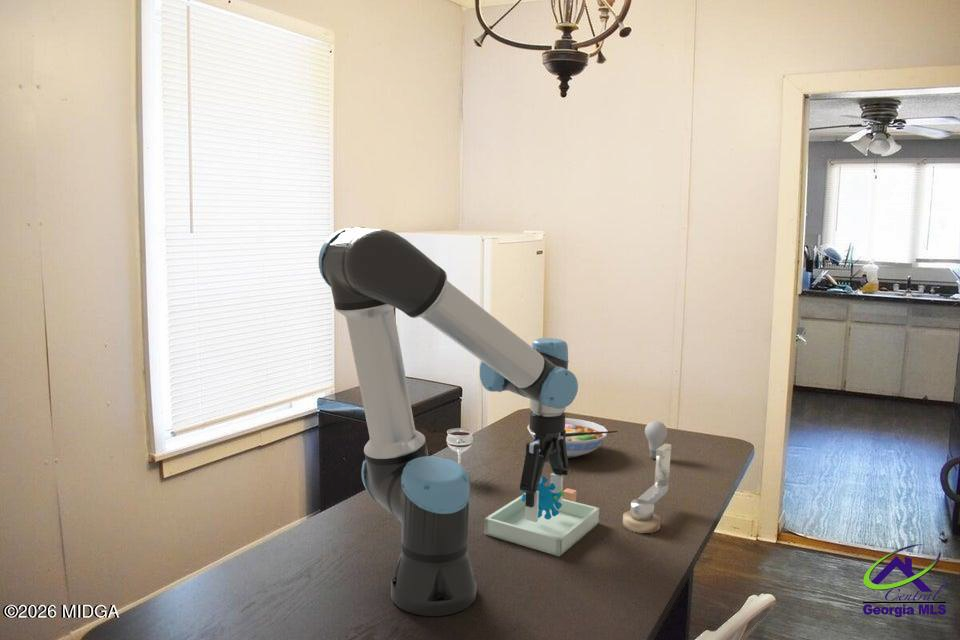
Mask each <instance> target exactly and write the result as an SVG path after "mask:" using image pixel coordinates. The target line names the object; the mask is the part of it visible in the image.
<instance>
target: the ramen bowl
mask: <svg viewBox="0 0 960 640" xmlns="http://www.w3.org/2000/svg"><path fill="white" fill-rule="evenodd" d="M527 430H528V432H529V434H530V436H531V437H532V439H533V440H534V438H535V433H534V431H532V430H531V429H530V427H529V424H528V425H527ZM565 430H566V437H565V441H566V449H567V458H568V459H570V458H571V459H572V458H577V457H579V456H583V455H587V454H590V453H591V452H593V451H595V450H597V449H598V448H599V447H600V446H601V445H602V443H603V442H604V441H605V439H606V437H607V435H608V434H611V433H618V430H610V431H608V429H607V428H606V427H605V426H604V425H601V424H599V423H596V422H593V421H588V420H584V419H578V418H570V417H569V418H568V417H565Z"/></svg>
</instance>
